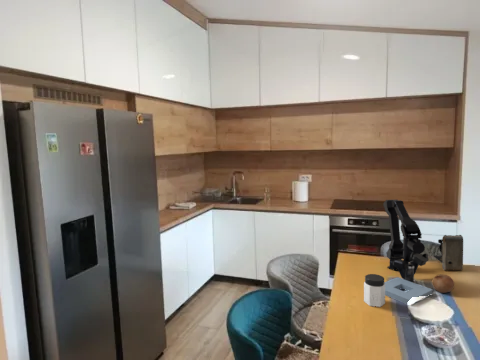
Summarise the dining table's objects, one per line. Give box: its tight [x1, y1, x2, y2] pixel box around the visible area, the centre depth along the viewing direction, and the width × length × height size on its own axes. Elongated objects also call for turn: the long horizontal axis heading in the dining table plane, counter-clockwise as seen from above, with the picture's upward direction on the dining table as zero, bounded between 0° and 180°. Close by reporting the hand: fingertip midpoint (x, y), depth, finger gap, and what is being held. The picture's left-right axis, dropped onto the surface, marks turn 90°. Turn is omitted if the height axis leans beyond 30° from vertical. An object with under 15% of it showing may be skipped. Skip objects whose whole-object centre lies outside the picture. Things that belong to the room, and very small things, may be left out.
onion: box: [431, 273, 455, 294], centre depth 161 cm, size 9×9×10 cm
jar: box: [363, 273, 386, 308], centre depth 153 cm, size 9×8×12 cm
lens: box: [404, 263, 415, 283], centre depth 174 cm, size 5×5×9 cm
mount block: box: [384, 276, 434, 305], centre depth 162 cm, size 18×18×2 cm
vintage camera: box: [433, 234, 464, 272], centre depth 190 cm, size 10×15×20 cm, turn 174°
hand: (408, 276), depth 174 cm, fingers open, 9 cm apart
